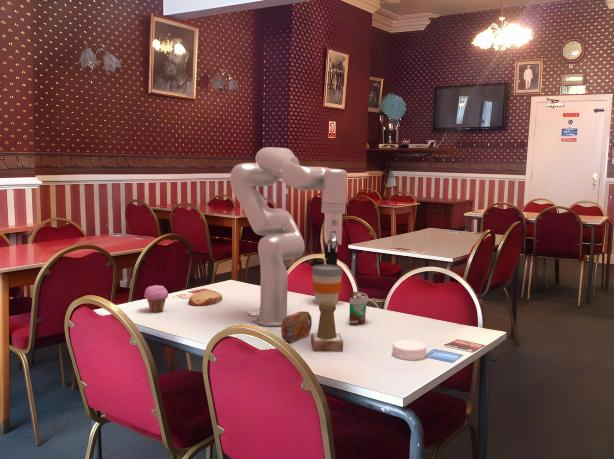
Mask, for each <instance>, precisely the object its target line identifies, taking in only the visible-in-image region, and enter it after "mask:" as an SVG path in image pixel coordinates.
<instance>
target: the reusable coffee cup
mask: <svg viewBox="0 0 614 459" xmlns="http://www.w3.org/2000/svg"><path fill="white" fill-rule="evenodd" d="M311 274H312V280H311V281H312V291H313V292H314V298H315V300H314V301H315V304H316V303H317V304H316V305H318V304H320V303H321V302H322V301H331V302H334V303H335V306H337V305H338V301H339V295H340V292H341V289H342V282H343V281H342V276H343V267H342V266H340V265H338V264H337V265H327V264H316V265H313V266H312V269H311Z"/></svg>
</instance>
